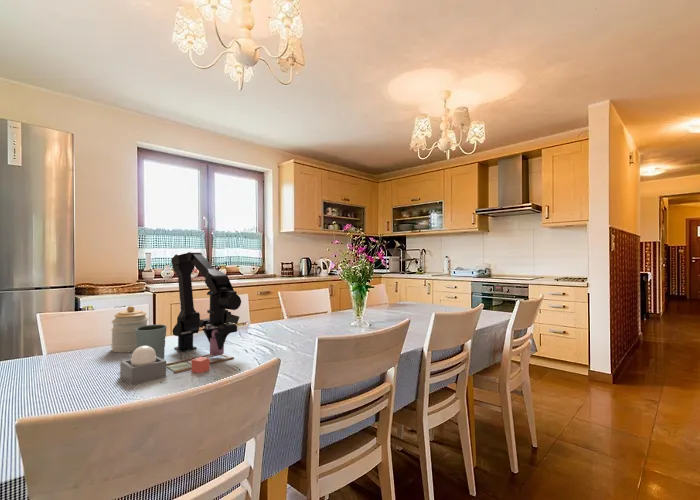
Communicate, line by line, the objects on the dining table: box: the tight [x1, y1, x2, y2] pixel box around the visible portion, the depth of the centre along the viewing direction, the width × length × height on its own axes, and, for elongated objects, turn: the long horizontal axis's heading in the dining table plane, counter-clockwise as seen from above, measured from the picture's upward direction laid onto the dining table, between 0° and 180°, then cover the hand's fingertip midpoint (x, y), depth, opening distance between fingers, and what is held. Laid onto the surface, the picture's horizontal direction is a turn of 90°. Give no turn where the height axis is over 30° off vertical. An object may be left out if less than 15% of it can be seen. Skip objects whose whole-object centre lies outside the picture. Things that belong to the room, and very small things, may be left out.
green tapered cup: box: [135, 324, 168, 359], centre depth 132 cm, size 10×10×12 cm
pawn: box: [209, 329, 225, 357], centre depth 134 cm, size 5×5×10 cm
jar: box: [110, 305, 149, 353], centre depth 145 cm, size 13×13×18 cm
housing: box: [119, 356, 167, 386], centre depth 113 cm, size 10×10×5 cm
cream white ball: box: [130, 346, 156, 367], centre depth 113 cm, size 7×7×7 cm
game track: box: [166, 353, 235, 374], centre depth 129 cm, size 11×22×1 cm, turn 140°
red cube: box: [191, 357, 211, 374], centre depth 120 cm, size 4×4×4 cm
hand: (216, 348), depth 134 cm, fingers closed on pawn, 5 cm apart
